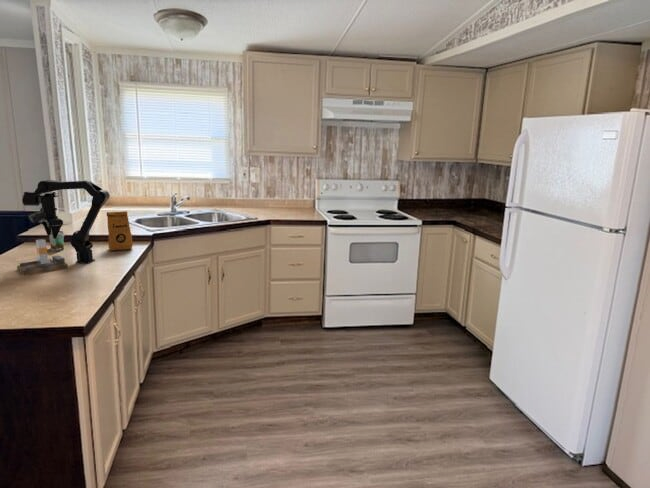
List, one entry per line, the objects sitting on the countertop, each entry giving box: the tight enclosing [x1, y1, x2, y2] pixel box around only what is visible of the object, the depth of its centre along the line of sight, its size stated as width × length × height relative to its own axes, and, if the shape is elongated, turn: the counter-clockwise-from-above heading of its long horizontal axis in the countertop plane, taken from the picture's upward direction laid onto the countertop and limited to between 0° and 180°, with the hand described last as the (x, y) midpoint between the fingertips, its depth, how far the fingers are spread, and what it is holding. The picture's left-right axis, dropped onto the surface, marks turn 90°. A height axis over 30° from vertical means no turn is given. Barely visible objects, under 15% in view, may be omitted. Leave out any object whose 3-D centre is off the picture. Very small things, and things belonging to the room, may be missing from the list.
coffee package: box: [106, 210, 134, 251], centre depth 248 cm, size 10×12×22 cm
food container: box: [48, 230, 65, 253], centre depth 246 cm, size 12×6×10 cm, turn 47°
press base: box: [16, 255, 69, 276], centre depth 210 cm, size 18×12×4 cm, turn 137°
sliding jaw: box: [35, 238, 51, 265], centre depth 209 cm, size 4×8×12 cm, turn 48°
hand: (51, 237), depth 219 cm, fingers open, 9 cm apart
